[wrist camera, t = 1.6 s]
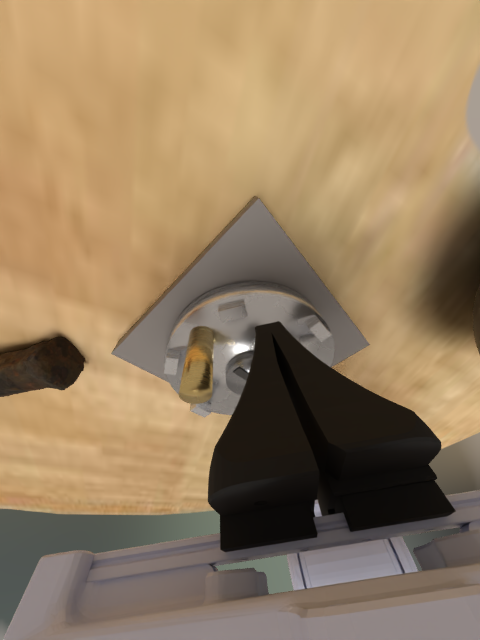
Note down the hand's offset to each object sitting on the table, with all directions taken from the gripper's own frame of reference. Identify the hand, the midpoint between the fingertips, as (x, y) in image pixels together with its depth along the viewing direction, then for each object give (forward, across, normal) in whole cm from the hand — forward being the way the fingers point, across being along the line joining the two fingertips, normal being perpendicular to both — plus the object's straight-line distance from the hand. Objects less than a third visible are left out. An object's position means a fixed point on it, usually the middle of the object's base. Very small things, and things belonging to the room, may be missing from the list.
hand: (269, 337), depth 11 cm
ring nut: (+4, +2, +5) cm, 7 cm away
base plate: (+6, +2, +5) cm, 8 cm away
